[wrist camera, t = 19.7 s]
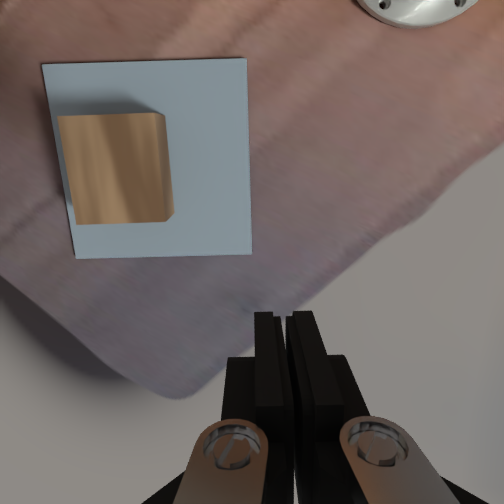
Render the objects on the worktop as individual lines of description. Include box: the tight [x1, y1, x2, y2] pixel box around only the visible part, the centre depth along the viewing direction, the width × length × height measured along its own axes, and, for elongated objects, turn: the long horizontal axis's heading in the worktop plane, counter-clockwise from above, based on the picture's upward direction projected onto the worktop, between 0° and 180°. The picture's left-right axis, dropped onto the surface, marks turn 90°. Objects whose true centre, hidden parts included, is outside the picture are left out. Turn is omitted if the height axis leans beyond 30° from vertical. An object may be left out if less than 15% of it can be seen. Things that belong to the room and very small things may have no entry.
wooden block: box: [57, 113, 175, 225], centre depth 29 cm, size 4×8×7 cm
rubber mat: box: [42, 58, 252, 259], centre depth 31 cm, size 16×16×1 cm
